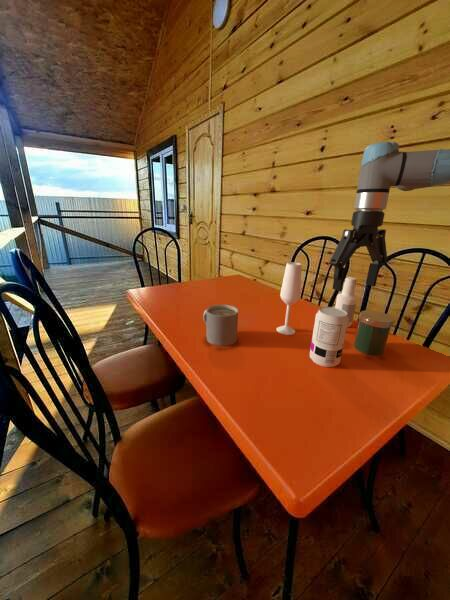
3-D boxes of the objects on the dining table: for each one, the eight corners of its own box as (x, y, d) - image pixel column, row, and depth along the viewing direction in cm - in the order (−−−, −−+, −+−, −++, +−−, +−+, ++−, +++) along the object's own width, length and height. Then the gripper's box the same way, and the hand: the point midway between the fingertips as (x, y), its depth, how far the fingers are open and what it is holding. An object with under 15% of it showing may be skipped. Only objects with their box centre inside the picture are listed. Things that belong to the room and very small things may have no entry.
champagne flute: (274, 326, 93) (281, 261, 85) (292, 326, 94) (300, 261, 86) (279, 334, 87) (287, 265, 79) (298, 334, 87) (308, 265, 79)
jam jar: (381, 345, 82) (389, 315, 79) (386, 358, 75) (395, 325, 71) (352, 339, 85) (359, 310, 81) (354, 352, 78) (362, 320, 74)
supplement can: (303, 355, 75) (310, 307, 70) (326, 350, 78) (334, 305, 73) (321, 370, 68) (331, 319, 63) (346, 365, 70) (357, 315, 65)
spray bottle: (347, 329, 93) (358, 281, 87) (329, 323, 97) (337, 277, 91) (354, 324, 97) (364, 278, 91) (336, 318, 102) (344, 275, 96)
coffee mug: (242, 341, 82) (244, 312, 78) (216, 349, 76) (217, 318, 73) (220, 325, 92) (221, 299, 89) (196, 331, 87) (195, 304, 84)
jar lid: (389, 318, 79) (390, 313, 79) (395, 330, 71) (397, 324, 71) (357, 314, 82) (358, 308, 82) (360, 324, 74) (361, 318, 74)
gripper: (386, 211, 76) (372, 280, 82) (322, 209, 66) (312, 288, 73) (413, 211, 69) (394, 286, 76) (346, 209, 59) (332, 295, 66)
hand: (354, 287), depth 74 cm, fingers open, 13 cm apart
